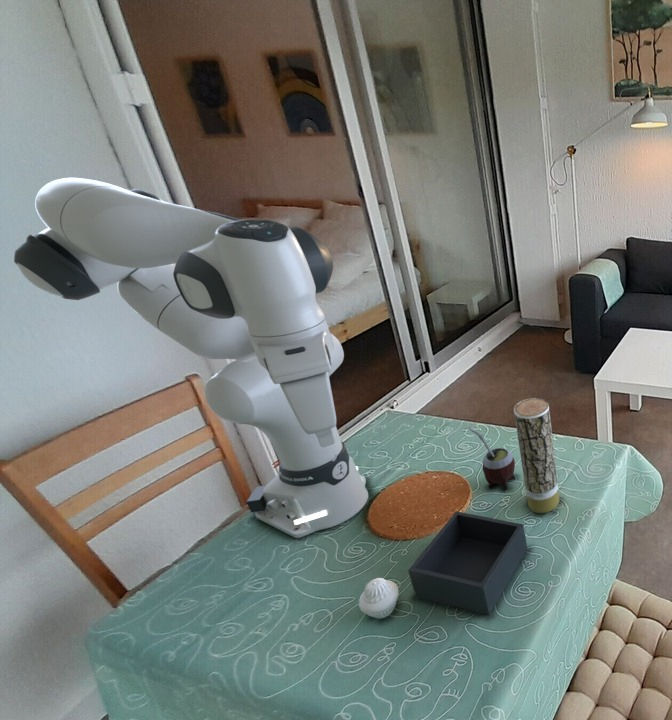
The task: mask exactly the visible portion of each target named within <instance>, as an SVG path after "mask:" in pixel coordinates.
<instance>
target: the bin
mask: <svg viewBox="0 0 672 720" xmlns="http://www.w3.org/2000/svg"><path fill="white" fill-rule="evenodd" d="M527 552H528V544H527V538H526V532H525V526H524V524H523V523H518V522H513V521H507V520H502V519H498V518H492V517H487V516H483V515H478V514H472V513H467V512H464V511H463V512H462V511H457V510H456V511H455V512H454V513H453V514H452V516H451V517H450V518H449V519H448V521H446V523H445V524H444V525H443V527H442V528H441V529H440V530H439V532H438V533H437V534H436V535H435V536H434V537H433V538H432V540H431V541H430V542H429V543H428V545H427V546H426V547H425V549H424V550H422V552H421V553H420V555H419V556H418V557H417V558H416V560H415V561H414V562H413V563H412V564H411V565H410V567H409V568H408V569H407V573H408V575H409V579H410V582H411V585H412V589H413V591H414V595H415V597H416V598H419V599H423V600H427V601H430V602H435V603H439V604H442V605H448V606H451V607H455V608H460V609H463V610H468V611H471V612H475V613H479V614H482V615H483V614H484V615H488V616H489V615H491V613H492V611H493V610H494V608H495V606H496V605H497V603H498V601H499V600H500V598H501V596H502V595H503V592H504V591H505V589H506V587H507V586H508V584H509V582H510V581H511V579H512V578H513V576H514V574H515V572H516V571H517V569H518V567H519V566H520V564H521V562H522V560H523V558H524V557H525V555H526V553H527Z"/></svg>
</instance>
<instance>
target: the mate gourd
mask: <svg viewBox="0 0 672 720" xmlns="http://www.w3.org/2000/svg"><path fill="white" fill-rule="evenodd" d="M467 430H469V431H471V432H472V433H474V434H475V435H477V436H478V438H479V439H480V441H482V444H483V445H484V446H485V448H486V450H487V451H488V452H486V454H485V455H484V456H483V459H482V472H483V475H484V478H485V481H486V482H487V484H488V485H487V486H488V489H492V488H495V487H497V486H501V487H502V489H503V490H504V491H507V490H509V487H508V485H507V482H509V481H512V480H514V479H516V476H515V475H514V473H515V467H516V462H515V458H514V455H513V454H512V453H511V451H510V450H509V449H506V448H504V447H497V448H493V449H491V448H490V446H489V445H488V443H487V441H486V439H485V437H484V435H483V434H481V433H480V432H479V431H477V430H475V429H473V428H471V427H470V426H468V427H467Z"/></svg>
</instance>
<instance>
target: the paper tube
mask: <svg viewBox="0 0 672 720" xmlns="http://www.w3.org/2000/svg"><path fill="white" fill-rule="evenodd" d="M550 412H551V411H550V404H549V403H548V400H547V401H546V400H545V399H542V398H539V397H532V398H531V397H530V398H527V399H523V400H521V401H519V402H518V403H516V404H515V405H514V407H513V414H514V421H515V428H516V433H517V441H518V447H519V454H520V462H521V467H522V474H523V481H524V488H525V494H526V500H527V506H528V508H529V510H531V511H532V512H533V513H535V514H546V513H550V512H552V511H553V510H555V509H556V508H557V507H558V505H559V503H560V494H559V493H560V492H559V484H558V476H557V466H556V465H557V464H556V458H555V456H556V455H555V448H554V439H553V431H552V421H551V413H550Z"/></svg>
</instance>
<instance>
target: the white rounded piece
mask: <svg viewBox="0 0 672 720" xmlns="http://www.w3.org/2000/svg"><path fill="white" fill-rule="evenodd" d="M398 599H399V587H398V585H397V583H396V582H394V581H393V580H389V579H384V578H383V577H377V578H373V579H372V580H369V582H366V585H365V586H364V590H363V592H362V593H361V594H360V597H359V599H358V608H359V609H360V611H361V612H362V613H364V614H365V615H367V616H369V617H372V618H374V619H377V620H378V619H380V620H381V619H385V618H387V617H388V616H389V615H391V614H392V613H393V611H394V610H395V607H396V604H397V602H398Z"/></svg>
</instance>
